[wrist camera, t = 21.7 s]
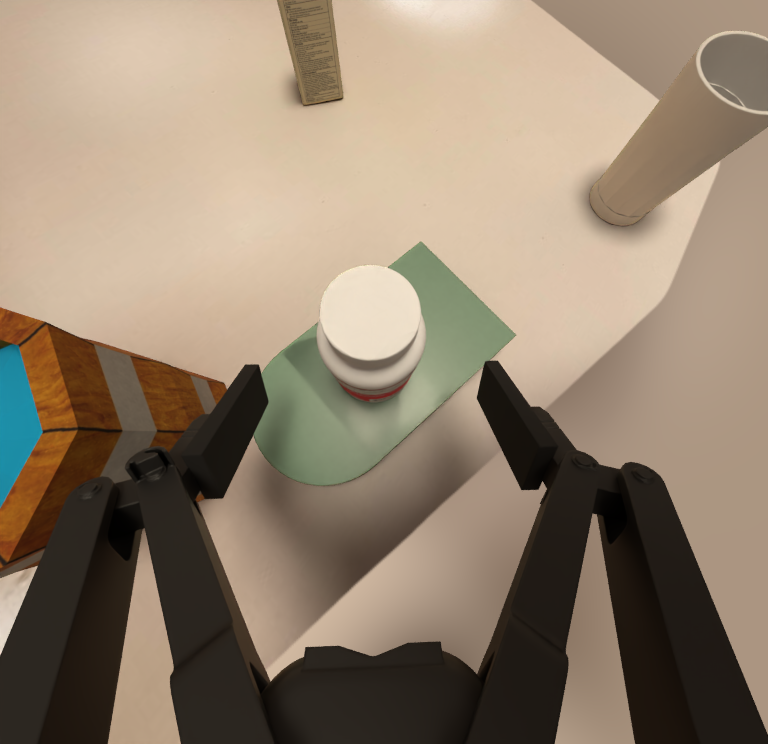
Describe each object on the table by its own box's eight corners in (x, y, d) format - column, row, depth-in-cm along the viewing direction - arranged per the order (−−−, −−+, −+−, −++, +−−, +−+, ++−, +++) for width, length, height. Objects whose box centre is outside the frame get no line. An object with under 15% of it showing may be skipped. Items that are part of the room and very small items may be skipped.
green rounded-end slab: (415, 265, 30) (420, 240, 26) (497, 348, 29) (516, 335, 25) (242, 404, 27) (219, 399, 23) (323, 508, 25) (314, 521, 21)
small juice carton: (337, 72, 36) (321, -65, 26) (344, 99, 35) (331, -32, 25) (295, 78, 35) (263, -59, 26) (301, 106, 35) (270, -25, 25)
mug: (275, 429, 27) (150, 422, 12) (160, 556, 24) (-174, 744, 10) (133, 300, 29) (-119, 162, 14) (16, 404, 27) (-431, 367, 12)
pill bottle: (359, 318, 25) (346, 228, 14) (423, 352, 24) (460, 286, 13) (321, 381, 24) (275, 335, 13) (388, 418, 23) (397, 403, 12)
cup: (585, 165, 34) (696, 21, 22) (654, 180, 33) (803, 42, 22) (579, 223, 32) (695, 100, 20) (651, 239, 32) (812, 124, 20)
